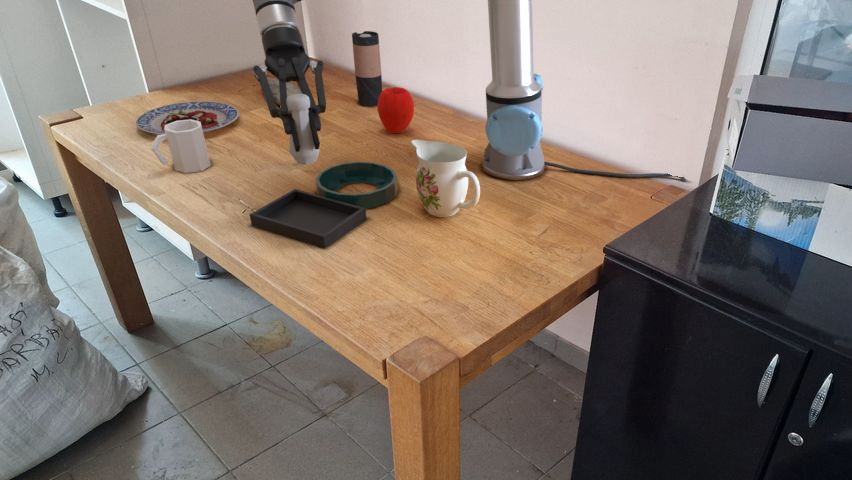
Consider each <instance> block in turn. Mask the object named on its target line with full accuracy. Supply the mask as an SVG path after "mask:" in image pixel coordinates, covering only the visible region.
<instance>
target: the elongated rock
mask: <svg viewBox="0 0 852 480" xmlns="http://www.w3.org/2000/svg"><path fill="white" fill-rule="evenodd" d="M267 80H268V83H269V86H270V89H271V92H272V95H273V98H274V101H275V104H277V105H278V106H279V107H280V108H281V105H280V89H279V80H278V79H277V78H276V77H275V78H274V77H273V78H272V77H271V78H267ZM286 89H287V97H288V96H290V95H292V94H302V93H301V90H300V88H299V86H296V85H295V84H293V83H291V81H290V82H286ZM308 110H309V109H308ZM288 114H291V110H290V109H289V108H288Z"/></svg>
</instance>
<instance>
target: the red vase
mask: <svg viewBox="0 0 852 480" xmlns="http://www.w3.org/2000/svg"><path fill="white" fill-rule="evenodd" d="M376 108H377V113H378V117H379V121H380V122H381V124H382V125H383V127H384V128H385V129H386V130H387V131H388V132H389V133H390V134H398V133H399V134H400V133H402V132H404V131H406V130H407V128H408V127H409V126H410V124H411V122H412V120H413V117H414V115H415V102H414V99H413V97H412V95H411V92H409V91H408V90H407V88H404V87H397V86H393V87H390V88H385V89H382V92H381V94H380V96H379V99H378V106H376Z"/></svg>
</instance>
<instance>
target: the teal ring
mask: <svg viewBox="0 0 852 480" xmlns="http://www.w3.org/2000/svg"><path fill="white" fill-rule="evenodd" d="M398 182H399V181H398V175H397V173H396V170H395V169H393V168H391V167H390V166H387V165H386V164H382V163H378V162H374V161H350V162H349V161H348V162H342V163H337V164H335V165H334V164H333V165H330V166H328V167H327V168H325V169H323V170H321V171H320V172H318V174H317V175H316V177H315V187H316V195H319V196H323V197H326V198H330V199H334V200H337V201H341V202H345V203H348V204H352V205H356V206H359V207H363V208H366V210H367V209H374V208H377V207H379V206H382V205H385V204H388V203H389V202H390V201H392V200H393V199H395V198H396V197H397V194H398V192H399V183H398ZM360 183H364V184H368V185H372V186H376V188H377V189H375V190H372V191H366V192H359V193H349V192H338V190H340V189H341V188H343V187H344V186H346V185H352V184H360Z"/></svg>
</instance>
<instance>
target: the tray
mask: <svg viewBox="0 0 852 480" xmlns="http://www.w3.org/2000/svg"><path fill="white" fill-rule="evenodd" d="M367 219H368V218H367V209H366V208H363V207H359V206H356V205H352V204H348V203H345V202H341V201H337V200H334V199H330V198H326V197H323V196H319V195H318V194H317V193H316V194H315V193H311V192H308V191H305V190H300V189H297V188H294V189H291V190H290V191H288V192H287V193H285V194H283V195H281V196H279V197H278V198H276V199H274V200H272V201H271V202H269V203H267V204H265V205H263V206H261V207H260V208H258V209H257V210H255V211H252V212H251V213H249V220H250V223H251V226H252V227H255V228H258V229H261V230H264V231H268V232H271V233H275V234H278V235H281V236H284V237H287V238H291V239H293V240H297V241H300V242H304V243H307V244H310V245H313V246H316V247H320V248H323V249H327V248H328V247H329V246H330V245H332V244H334V243H335V242H336V241H338V240H340V239H341V238H342V237H343V236H345V235H346V234H348V233H349V232H351V231H352V230H353V229H355V228H356V227H357V226H359V225H360V224H362V223H363V222H365V221H366V220H367Z"/></svg>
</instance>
